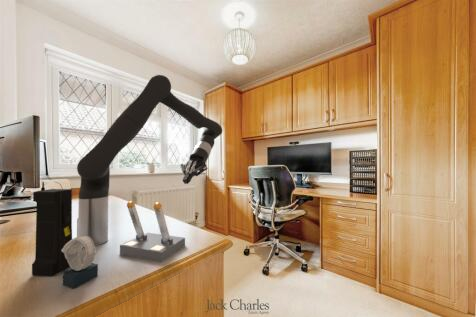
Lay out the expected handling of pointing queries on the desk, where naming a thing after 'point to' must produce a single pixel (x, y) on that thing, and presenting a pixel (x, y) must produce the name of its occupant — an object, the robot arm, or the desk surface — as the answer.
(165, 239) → the lever
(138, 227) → the lever
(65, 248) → the stone sculpture on base
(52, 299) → the desk surface
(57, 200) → the portable radio
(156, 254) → the switch console
